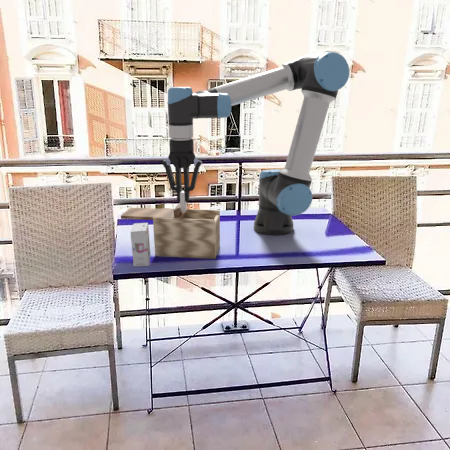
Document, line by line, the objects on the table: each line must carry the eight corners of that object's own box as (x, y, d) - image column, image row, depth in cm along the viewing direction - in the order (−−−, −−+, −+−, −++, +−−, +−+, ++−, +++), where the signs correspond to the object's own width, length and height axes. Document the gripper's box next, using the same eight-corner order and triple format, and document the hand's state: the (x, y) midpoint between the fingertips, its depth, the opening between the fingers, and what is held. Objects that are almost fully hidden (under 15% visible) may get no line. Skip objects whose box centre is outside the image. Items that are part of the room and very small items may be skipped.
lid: (186, 212, 156) (185, 202, 155) (179, 221, 147) (179, 210, 146) (130, 210, 159) (129, 200, 158) (121, 218, 150) (120, 208, 149)
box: (219, 246, 160) (219, 210, 155) (215, 258, 149) (214, 220, 145) (163, 244, 162) (161, 208, 158) (155, 255, 152) (153, 217, 147)
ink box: (135, 256, 151) (133, 222, 148) (150, 255, 152) (148, 221, 148) (132, 266, 143) (130, 231, 140) (148, 266, 144) (146, 230, 140)
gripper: (203, 137, 146) (205, 208, 154) (164, 136, 148) (167, 207, 156) (199, 140, 139) (201, 215, 147) (157, 139, 141) (161, 213, 148)
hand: (183, 210), depth 151 cm, fingers closed
